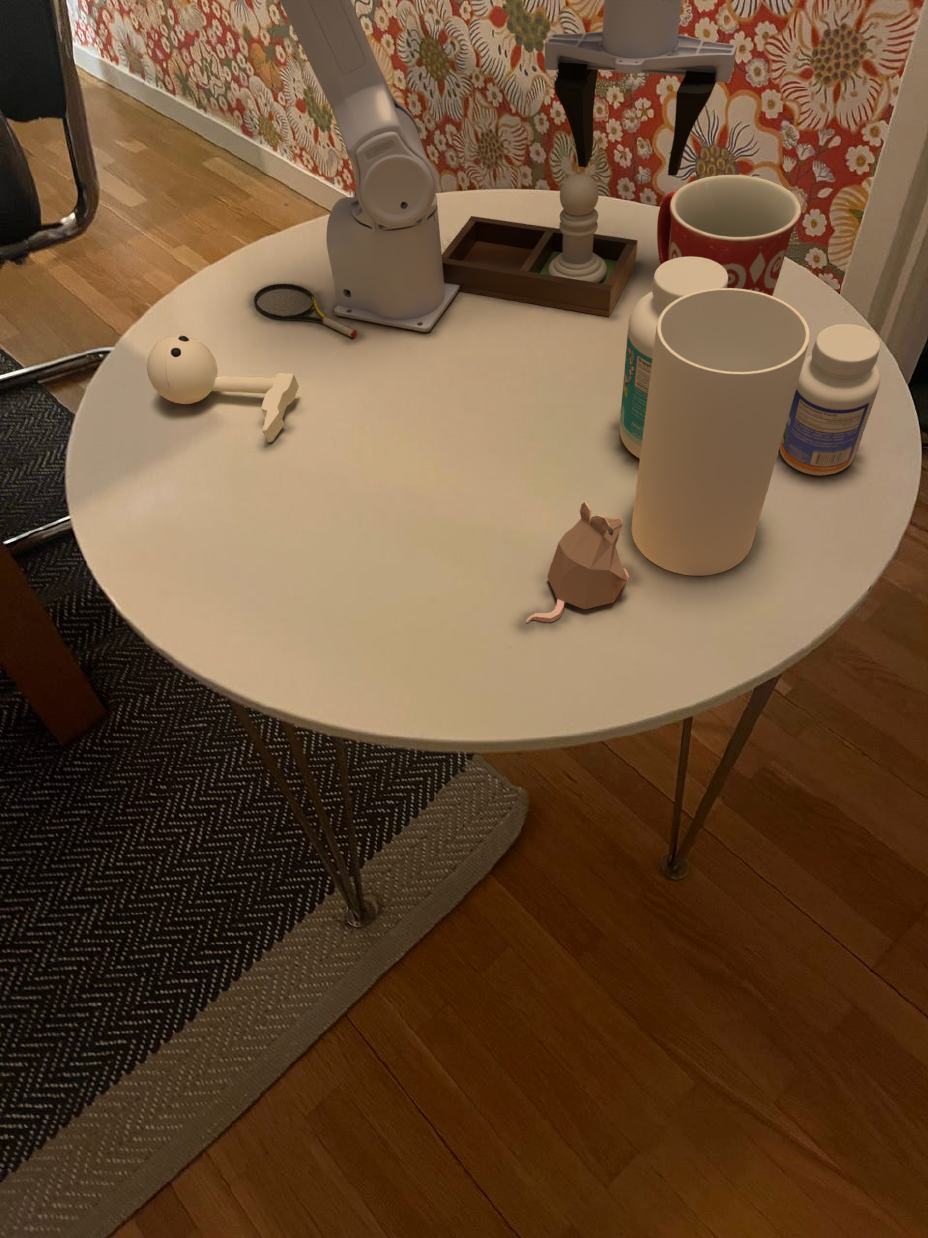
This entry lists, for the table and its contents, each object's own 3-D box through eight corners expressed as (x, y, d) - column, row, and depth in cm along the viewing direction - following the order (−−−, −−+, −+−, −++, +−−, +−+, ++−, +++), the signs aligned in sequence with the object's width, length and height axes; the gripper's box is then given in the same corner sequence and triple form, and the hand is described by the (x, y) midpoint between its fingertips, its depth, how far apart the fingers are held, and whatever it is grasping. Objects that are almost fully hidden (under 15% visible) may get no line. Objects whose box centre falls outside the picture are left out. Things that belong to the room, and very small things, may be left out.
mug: (785, 382, 70) (829, 217, 60) (684, 413, 69) (712, 249, 58) (702, 302, 78) (729, 143, 68) (610, 329, 76) (623, 170, 66)
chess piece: (557, 295, 79) (559, 195, 72) (541, 265, 82) (541, 166, 75) (614, 285, 79) (622, 184, 72) (596, 255, 82) (602, 156, 75)
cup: (725, 593, 57) (779, 391, 45) (611, 548, 61) (631, 347, 48) (770, 514, 62) (831, 309, 49) (661, 476, 65) (691, 274, 52)
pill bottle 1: (647, 396, 70) (667, 233, 60) (734, 427, 67) (771, 262, 57) (599, 449, 67) (612, 286, 56) (688, 484, 64) (719, 319, 53)
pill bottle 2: (798, 418, 67) (826, 306, 60) (867, 443, 65) (906, 330, 57) (764, 460, 65) (789, 349, 57) (835, 488, 63) (870, 376, 55)
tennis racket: (240, 298, 82) (280, 274, 84) (242, 305, 82) (282, 281, 85) (332, 344, 76) (373, 317, 78) (334, 351, 77) (374, 324, 79)
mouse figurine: (500, 599, 58) (497, 528, 53) (591, 542, 61) (596, 469, 56) (552, 648, 56) (554, 578, 50) (644, 585, 58) (655, 513, 53)
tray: (608, 316, 78) (610, 289, 76) (438, 287, 82) (435, 261, 80) (635, 266, 82) (637, 239, 80) (472, 241, 87) (471, 215, 85)
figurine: (149, 318, 71) (287, 321, 69) (176, 368, 76) (307, 373, 74) (112, 392, 68) (258, 398, 65) (144, 440, 72) (281, 448, 70)
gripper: (533, -11, 64) (533, 179, 74) (737, -2, 60) (707, 197, 71) (559, -43, 68) (556, 142, 78) (752, -36, 64) (721, 157, 75)
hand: (629, 165), depth 75 cm, fingers open, 7 cm apart
